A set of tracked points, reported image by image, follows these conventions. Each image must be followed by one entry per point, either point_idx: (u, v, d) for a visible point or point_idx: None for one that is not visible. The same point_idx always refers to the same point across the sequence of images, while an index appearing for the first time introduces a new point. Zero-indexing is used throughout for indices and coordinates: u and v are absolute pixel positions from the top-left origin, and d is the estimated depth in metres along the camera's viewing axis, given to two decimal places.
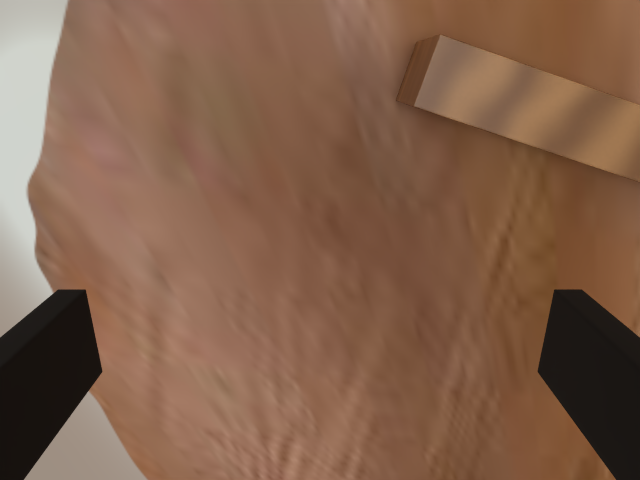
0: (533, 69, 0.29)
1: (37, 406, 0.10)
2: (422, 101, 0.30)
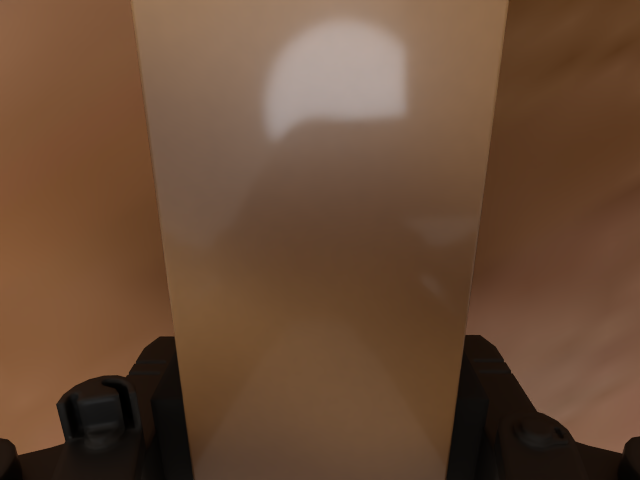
0: (196, 462, 0.08)
1: None
2: None
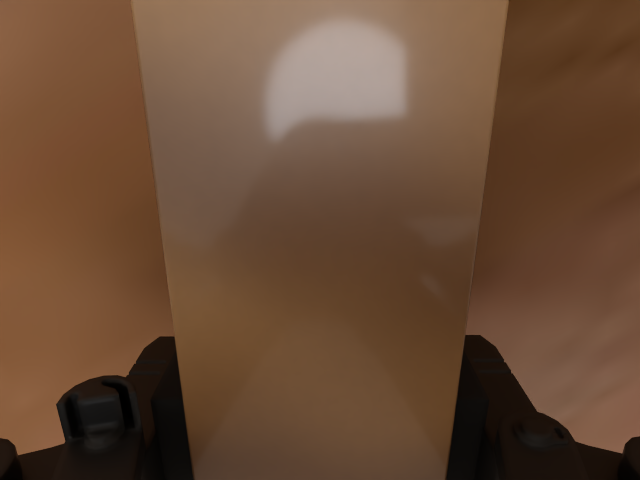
0: (196, 462, 0.08)
1: None
2: None
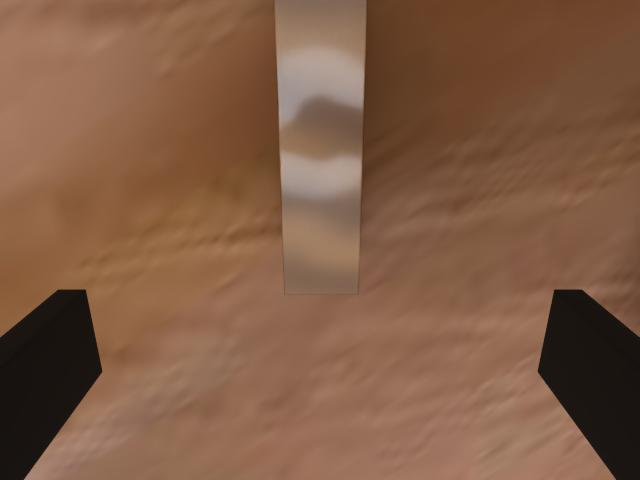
0: (282, 192, 0.26)
1: (37, 406, 0.10)
2: (351, 288, 0.28)
